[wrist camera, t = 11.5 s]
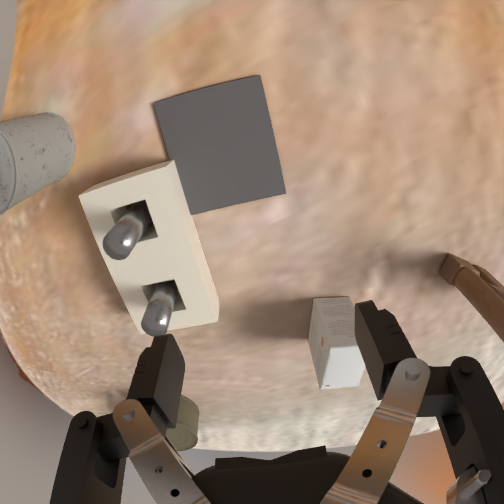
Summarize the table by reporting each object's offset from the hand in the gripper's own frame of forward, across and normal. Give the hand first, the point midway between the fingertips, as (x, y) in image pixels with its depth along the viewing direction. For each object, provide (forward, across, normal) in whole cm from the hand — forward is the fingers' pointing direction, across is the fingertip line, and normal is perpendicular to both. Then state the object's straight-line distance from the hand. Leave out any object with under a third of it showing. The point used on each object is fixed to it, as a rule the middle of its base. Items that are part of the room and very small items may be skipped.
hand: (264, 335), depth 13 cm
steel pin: (+26, +14, +1) cm, 29 cm away
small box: (+26, -7, +22) cm, 35 cm away
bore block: (+25, +13, +6) cm, 29 cm away
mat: (+26, +3, -4) cm, 26 cm away
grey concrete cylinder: (+26, +25, -11) cm, 37 cm away
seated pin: (+25, +13, +11) cm, 31 cm away
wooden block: (+26, -31, +20) cm, 45 cm away
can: (+25, +24, +39) cm, 52 cm away
